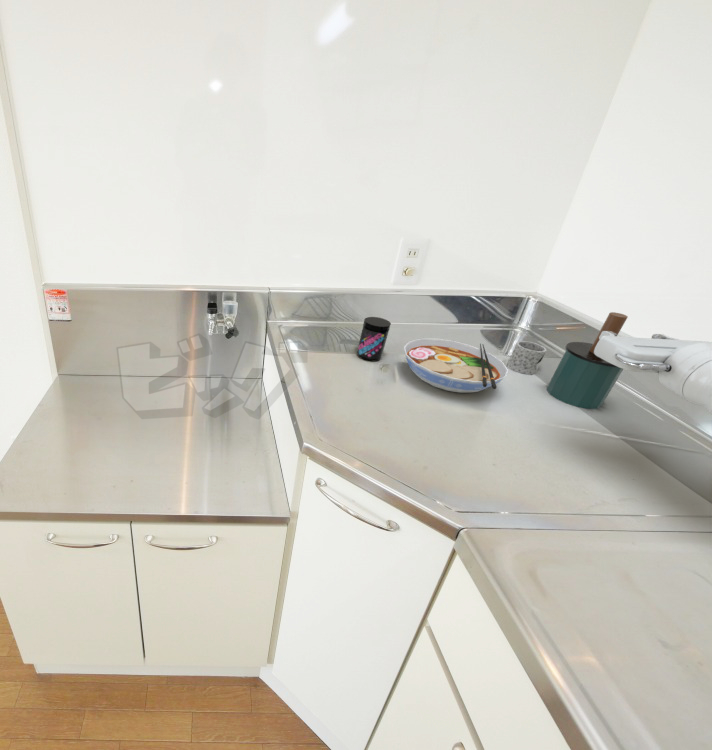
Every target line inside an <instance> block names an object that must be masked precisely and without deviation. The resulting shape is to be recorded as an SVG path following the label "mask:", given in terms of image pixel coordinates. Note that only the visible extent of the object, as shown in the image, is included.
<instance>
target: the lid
mask: <svg viewBox="0 0 712 750" xmlns="http://www.w3.org/2000/svg"><path fill="white" fill-rule="evenodd" d="M627 319H628V315H626V314H623V313H620V312H613V311H612V312H611V311H610V312H609V313H608V315H607V317H606V319H605V321H604V323H603V324H602V326H601V328H600V330H599V332H598V333H597V335H596V337H595V339H594V341H593V342H592V343H590V342H583V341H571V342H568V343H566V345H565V347H564V348H565V351H566V350H567V351H568V352H569V353H571V354H572V355H574V356H576V357H578V358H580V359H583V360H586V361H588V362H592V363H595V364H599V365H604V366H610V367H617V366H615V365H613V364H611V363H609V362H607V361H605V360H603V359H601V358H599V357H598V356H596V355H595V354H594V349H595V347H596V345H597V343H598V341H599V340H600V339H599V336H600V335H601V333H602V332H603V331H612V332H613V333H616V334H618V335H619V333H620V332H621V330H622V328H623V326H624V325H625V323H626V321H627Z"/></svg>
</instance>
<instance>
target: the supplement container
mask: <svg viewBox="0 0 712 750" xmlns="http://www.w3.org/2000/svg"><path fill="white" fill-rule="evenodd" d="M391 325H392V322H391V321H389V320H387V319H385V318H382V317H380V316H379V317H377V316H368V317H365V318H364V319H363V324H362V329H361V333H360V337H359V341H358V345H357V350H356V354H357V356H358V357H359V358H360V359H361V360H363V361H366V362H367V361H368V362H377V361H380V360H381V359H382V357H383V353H384V350H385V346H386V344H387V339H388V337H389V336H388V335H389V332H390V329H391Z"/></svg>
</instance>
